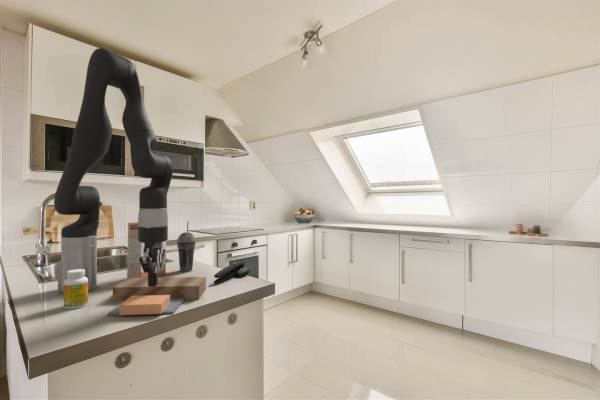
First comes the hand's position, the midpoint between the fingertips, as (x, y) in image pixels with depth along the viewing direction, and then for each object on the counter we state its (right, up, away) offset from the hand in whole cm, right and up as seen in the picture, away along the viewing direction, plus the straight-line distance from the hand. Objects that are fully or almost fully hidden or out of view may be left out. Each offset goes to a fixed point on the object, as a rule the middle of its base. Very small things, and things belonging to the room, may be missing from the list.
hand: (153, 285), depth 85 cm
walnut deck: (-1, -5, +8) cm, 9 cm away
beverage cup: (-5, -5, +37) cm, 38 cm away
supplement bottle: (-20, -5, -2) cm, 21 cm away
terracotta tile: (+1, -3, -6) cm, 7 cm away
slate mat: (0, -5, -3) cm, 6 cm away
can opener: (+16, -5, +27) cm, 31 cm away
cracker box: (-15, -5, +26) cm, 30 cm away
